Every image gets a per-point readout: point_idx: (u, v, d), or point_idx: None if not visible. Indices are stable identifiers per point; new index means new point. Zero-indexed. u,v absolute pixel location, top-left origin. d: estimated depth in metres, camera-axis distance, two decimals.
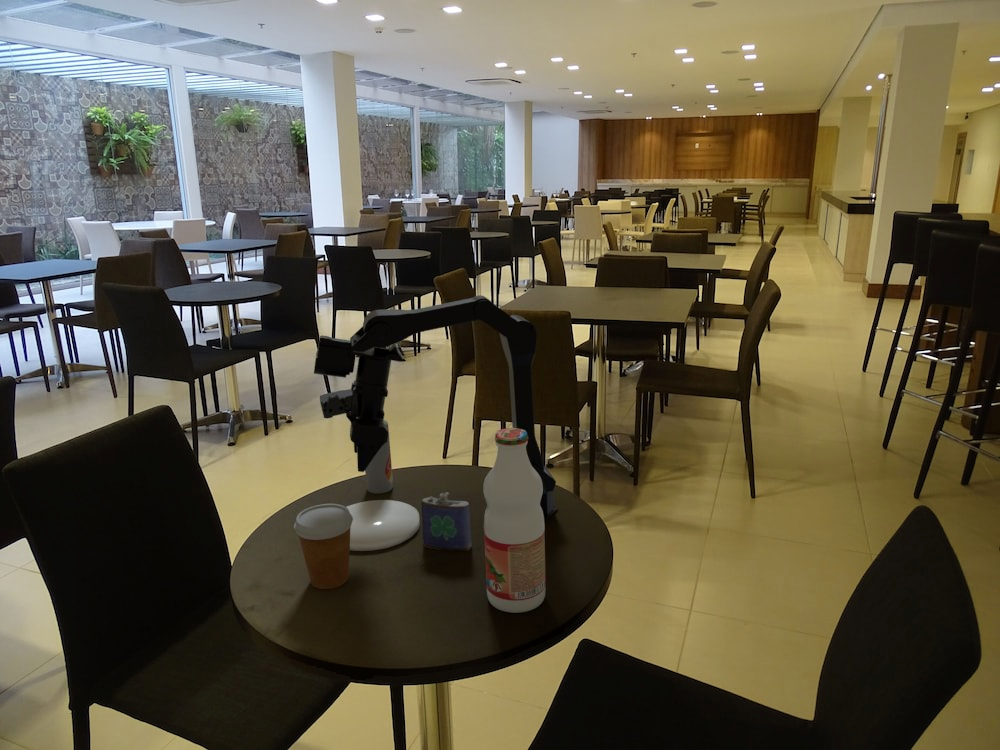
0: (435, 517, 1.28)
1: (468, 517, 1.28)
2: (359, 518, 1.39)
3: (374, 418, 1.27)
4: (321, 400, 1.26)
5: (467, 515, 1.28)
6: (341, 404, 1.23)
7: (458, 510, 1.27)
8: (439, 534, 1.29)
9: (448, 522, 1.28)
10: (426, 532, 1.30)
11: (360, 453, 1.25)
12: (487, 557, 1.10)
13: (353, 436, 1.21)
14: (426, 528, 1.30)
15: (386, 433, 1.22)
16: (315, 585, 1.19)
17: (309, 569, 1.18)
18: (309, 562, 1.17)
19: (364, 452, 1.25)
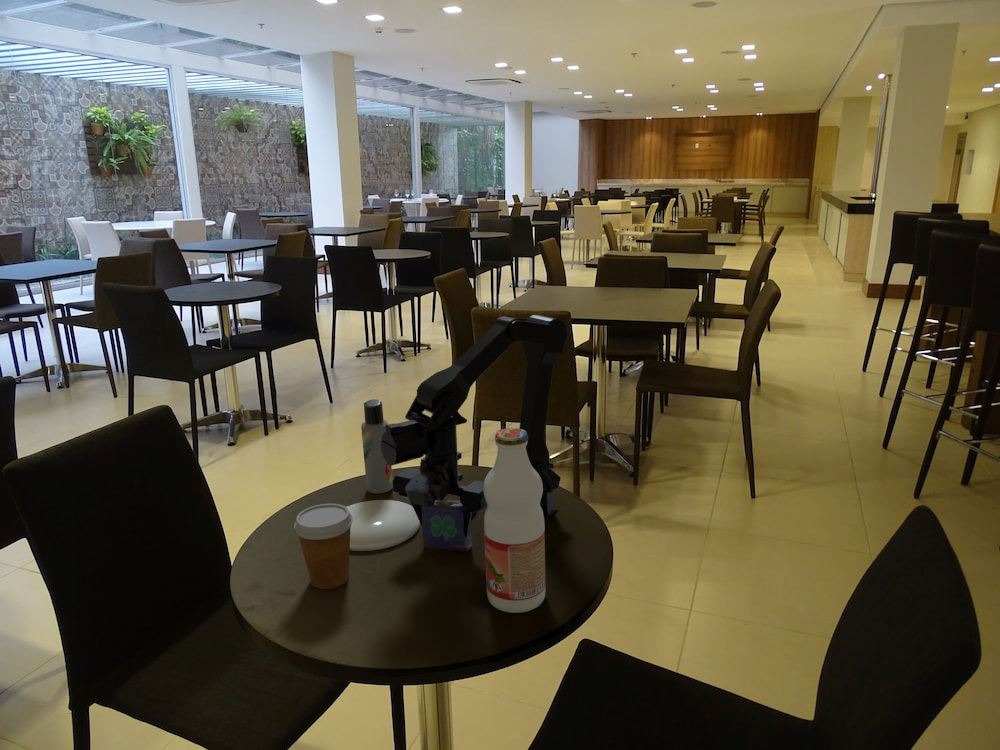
0: (435, 517, 1.28)
1: None
2: (359, 518, 1.39)
3: (458, 483, 1.27)
4: (420, 492, 1.19)
5: None
6: (446, 485, 1.20)
7: (458, 509, 1.27)
8: (439, 534, 1.29)
9: (448, 522, 1.28)
10: (426, 532, 1.30)
11: (470, 519, 1.25)
12: (487, 557, 1.10)
13: (479, 506, 1.21)
14: (426, 528, 1.30)
15: None
16: (315, 585, 1.19)
17: (309, 569, 1.18)
18: (309, 562, 1.17)
19: (471, 516, 1.26)
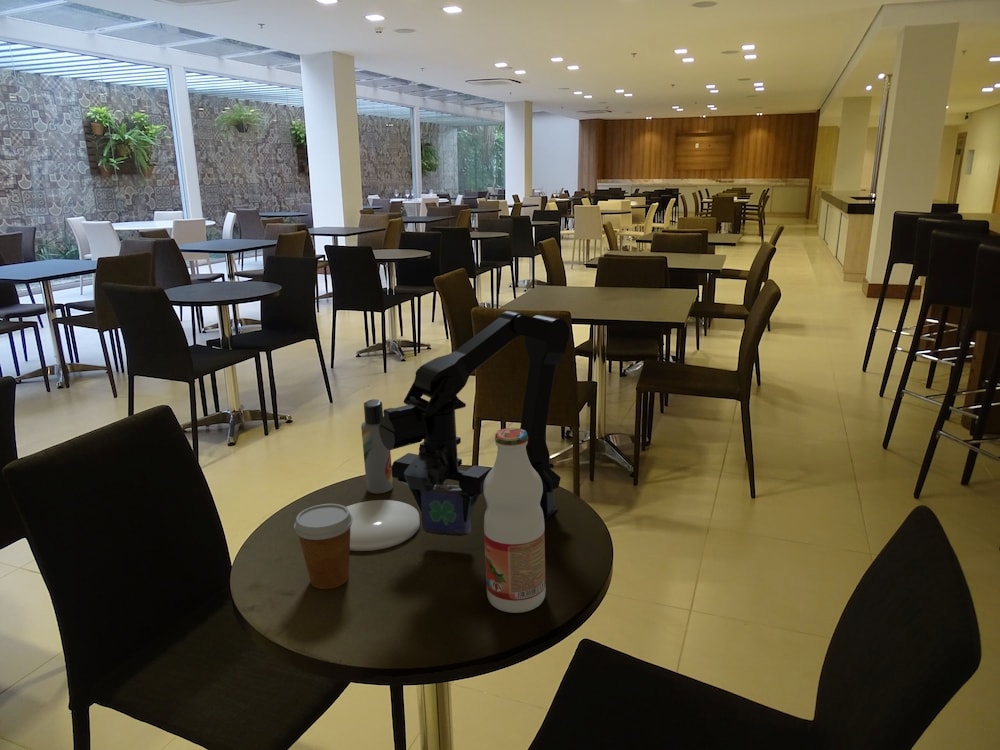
0: (435, 502, 1.27)
1: None
2: (359, 518, 1.39)
3: (457, 467, 1.26)
4: (419, 477, 1.19)
5: None
6: (445, 469, 1.20)
7: (457, 494, 1.26)
8: (438, 519, 1.28)
9: (448, 507, 1.27)
10: (426, 517, 1.29)
11: (469, 504, 1.25)
12: (487, 557, 1.10)
13: (478, 490, 1.20)
14: (426, 513, 1.29)
15: None
16: (315, 585, 1.19)
17: (309, 569, 1.18)
18: (309, 562, 1.17)
19: (470, 501, 1.25)
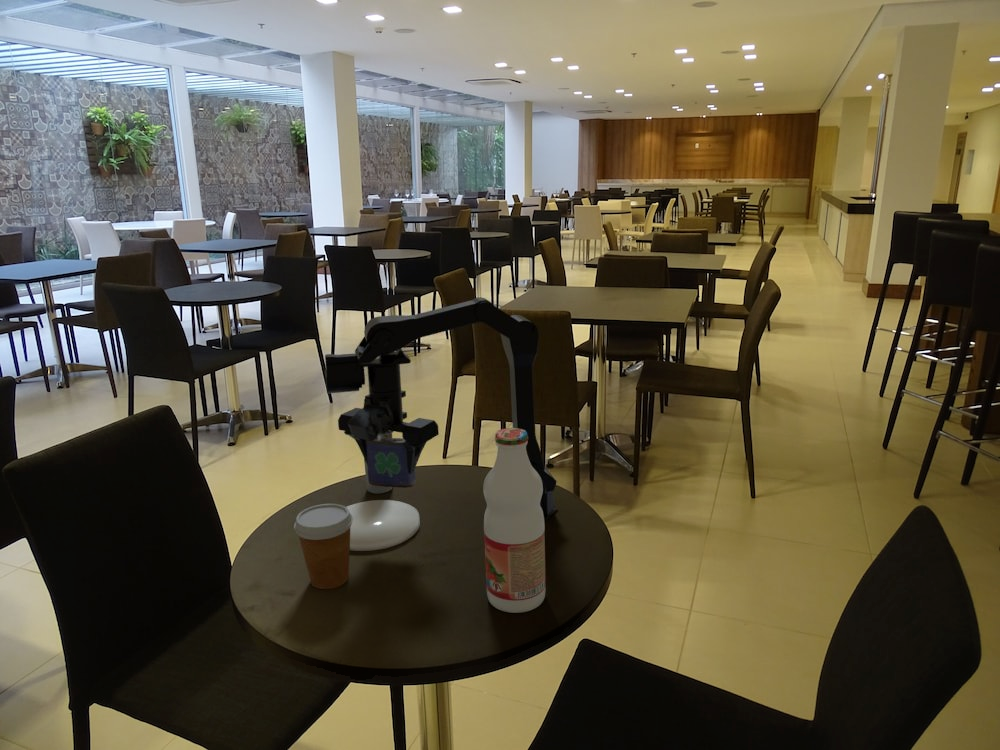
0: (380, 454, 1.30)
1: None
2: (359, 518, 1.39)
3: (402, 420, 1.30)
4: (362, 425, 1.22)
5: None
6: (389, 419, 1.23)
7: (402, 446, 1.29)
8: (383, 471, 1.31)
9: (393, 459, 1.30)
10: (371, 470, 1.32)
11: (413, 455, 1.28)
12: (487, 557, 1.10)
13: (421, 440, 1.24)
14: (371, 466, 1.32)
15: (437, 424, 1.28)
16: (315, 585, 1.19)
17: (309, 569, 1.18)
18: (309, 562, 1.17)
19: (414, 453, 1.28)
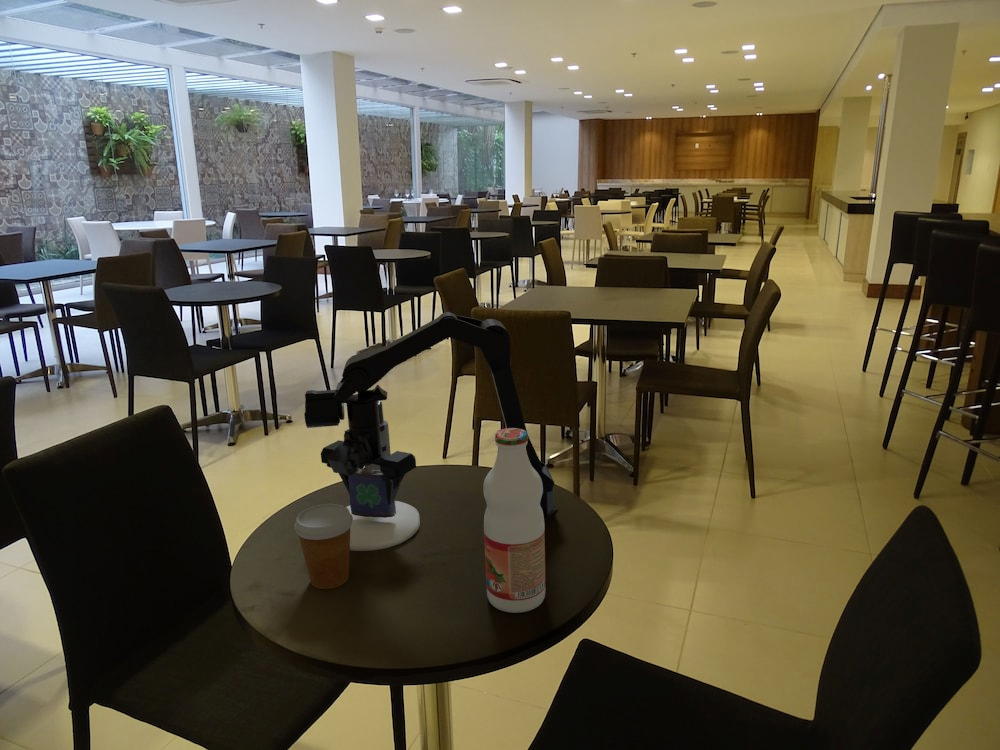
0: (360, 486, 1.35)
1: None
2: (359, 518, 1.39)
3: (381, 453, 1.34)
4: (341, 461, 1.27)
5: None
6: (366, 454, 1.28)
7: (381, 478, 1.34)
8: (364, 502, 1.36)
9: (373, 490, 1.35)
10: (353, 500, 1.37)
11: (392, 487, 1.33)
12: (487, 557, 1.10)
13: (397, 474, 1.28)
14: (353, 497, 1.37)
15: None
16: (315, 585, 1.19)
17: (309, 569, 1.18)
18: (309, 562, 1.17)
19: (393, 485, 1.33)
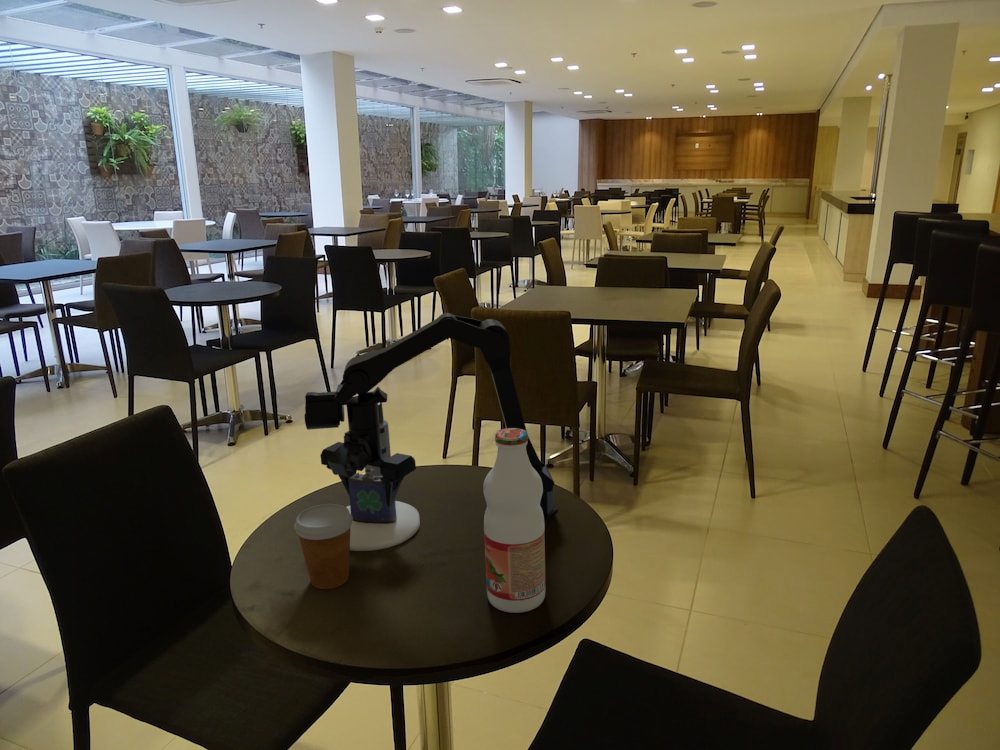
0: (361, 492, 1.36)
1: None
2: None
3: (381, 455, 1.35)
4: (341, 463, 1.27)
5: None
6: (366, 456, 1.28)
7: (382, 484, 1.35)
8: (365, 508, 1.37)
9: (374, 497, 1.36)
10: (354, 507, 1.38)
11: (391, 489, 1.33)
12: (487, 557, 1.10)
13: (397, 476, 1.29)
14: (354, 503, 1.37)
15: (414, 460, 1.33)
16: (315, 585, 1.19)
17: (309, 569, 1.18)
18: (309, 562, 1.17)
19: (393, 487, 1.33)
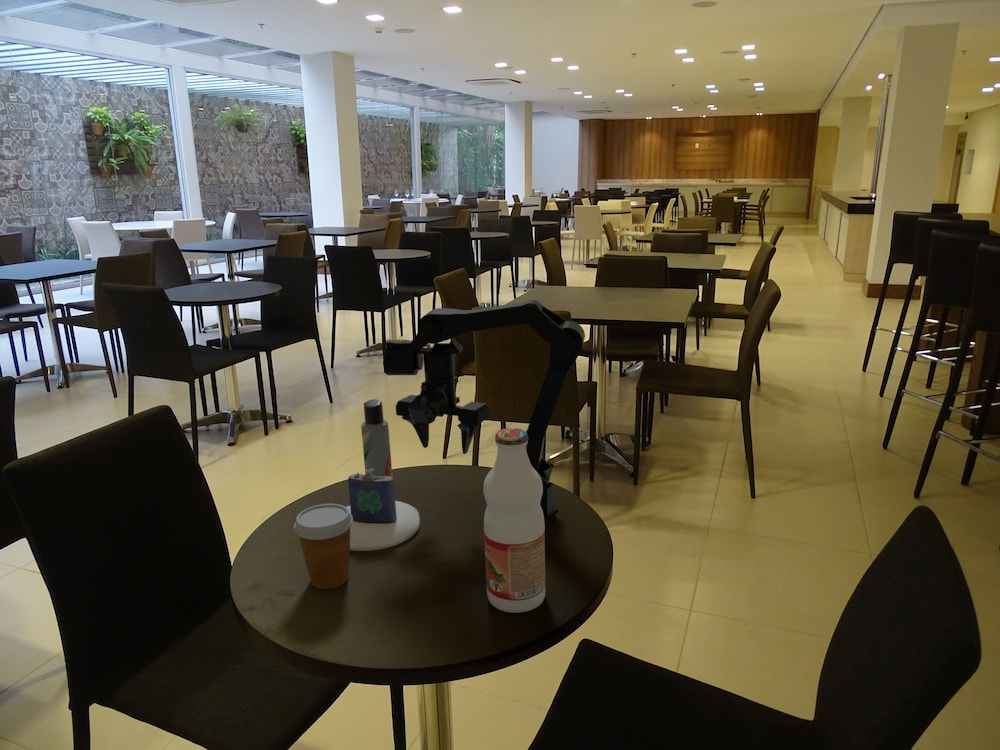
0: (362, 492, 1.36)
1: (393, 491, 1.36)
2: None
3: None
4: (422, 409, 1.32)
5: (391, 489, 1.35)
6: (445, 403, 1.33)
7: (383, 484, 1.35)
8: (365, 508, 1.37)
9: (374, 497, 1.36)
10: (354, 507, 1.38)
11: (467, 436, 1.38)
12: (487, 557, 1.10)
13: (475, 421, 1.34)
14: (354, 503, 1.37)
15: None
16: (315, 585, 1.19)
17: (309, 569, 1.18)
18: (309, 562, 1.17)
19: (468, 434, 1.38)
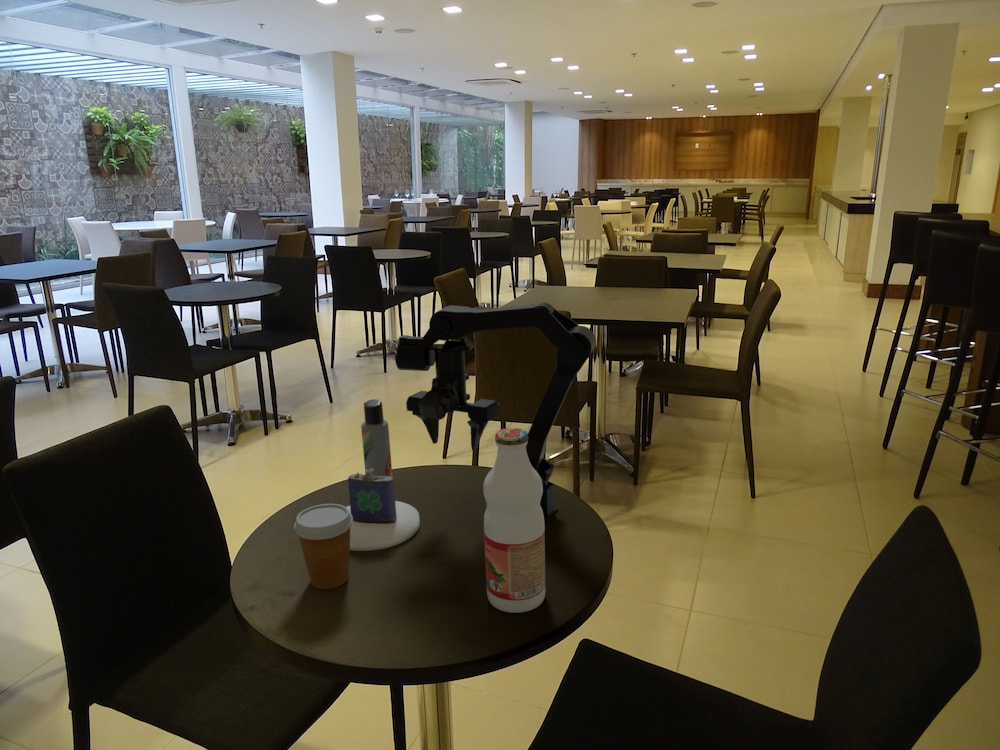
0: (361, 492, 1.36)
1: (393, 491, 1.36)
2: None
3: (466, 401, 1.40)
4: (432, 405, 1.33)
5: (391, 489, 1.35)
6: (456, 399, 1.34)
7: (383, 484, 1.35)
8: (365, 508, 1.37)
9: (374, 497, 1.36)
10: (354, 507, 1.38)
11: (477, 433, 1.39)
12: (487, 557, 1.10)
13: (485, 419, 1.34)
14: (354, 503, 1.37)
15: None
16: (315, 585, 1.19)
17: (309, 569, 1.18)
18: (309, 562, 1.17)
19: (478, 431, 1.39)
